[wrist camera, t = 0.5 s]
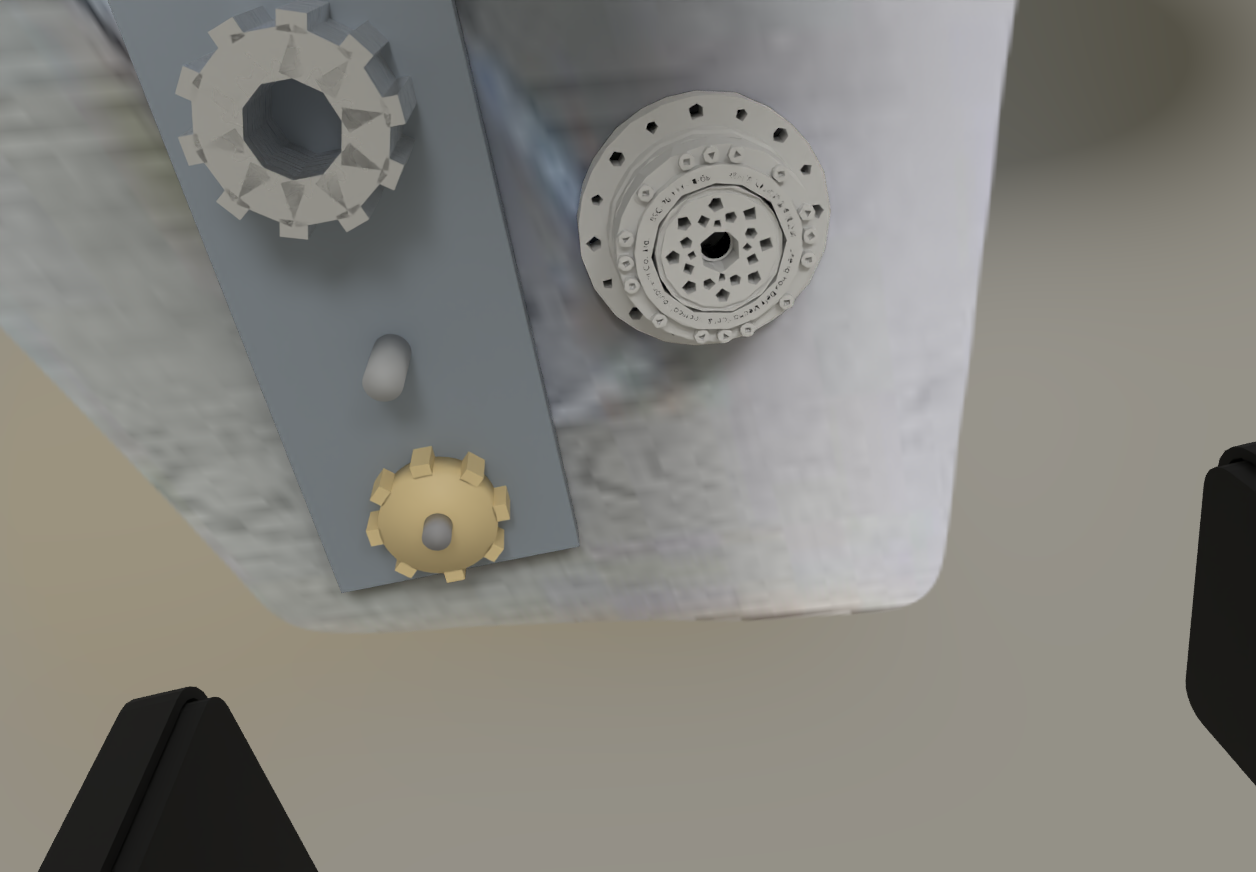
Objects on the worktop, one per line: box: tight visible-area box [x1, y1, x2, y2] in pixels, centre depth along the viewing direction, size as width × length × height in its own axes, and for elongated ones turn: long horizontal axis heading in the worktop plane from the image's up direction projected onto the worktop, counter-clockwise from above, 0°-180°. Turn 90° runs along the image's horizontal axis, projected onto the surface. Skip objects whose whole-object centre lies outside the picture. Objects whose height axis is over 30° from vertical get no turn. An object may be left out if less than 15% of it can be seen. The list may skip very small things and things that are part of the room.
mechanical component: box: [577, 91, 831, 345], centre depth 37 cm, size 10×4×10 cm
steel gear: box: [175, 0, 417, 240], centre depth 32 cm, size 7×7×4 cm
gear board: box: [108, 0, 579, 593], centre depth 37 cm, size 25×11×4 cm, turn 9°
